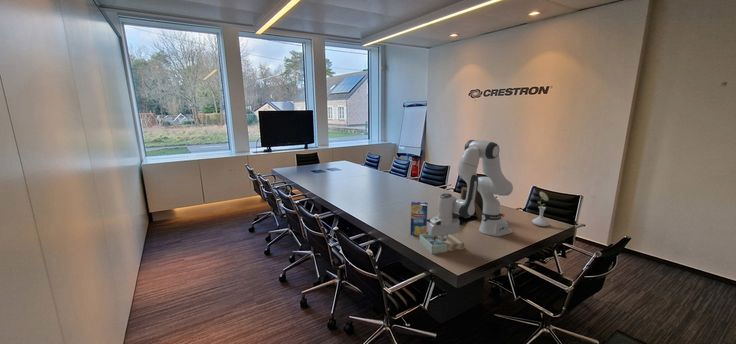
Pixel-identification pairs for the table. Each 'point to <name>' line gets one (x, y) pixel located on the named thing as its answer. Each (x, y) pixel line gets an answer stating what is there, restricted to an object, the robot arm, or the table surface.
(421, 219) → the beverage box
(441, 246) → the tray
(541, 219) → the flower in vase
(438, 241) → the tile
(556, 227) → the table surface
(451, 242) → the beige shallow box
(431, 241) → the tile
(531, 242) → the table surface
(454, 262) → the table surface
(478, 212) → the photo frame
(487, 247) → the table surface
